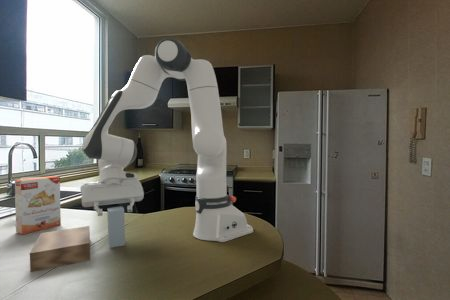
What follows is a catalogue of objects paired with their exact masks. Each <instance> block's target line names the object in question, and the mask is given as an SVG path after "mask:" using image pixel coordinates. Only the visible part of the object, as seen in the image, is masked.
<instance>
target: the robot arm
mask: <svg viewBox="0 0 450 300" xmlns="http://www.w3.org/2000/svg"><path fill="white" fill-rule="evenodd" d="M165 79H167V80H169V81H185V82H186V86H187V95H188V101H189V108H190V109H189V110H190V115H191V117H190V118H191V120H190V121H191V135H192V136H191V137H192V148H193V150H194V151H195V153H196V155H197V163H196V164H197V166H196V174H195V176H196V178H195V179H196V180H195V182H196V195H195V202H194V203H195V204H194V206H195V213H196V215H195V224H194V229H193V232H192V236H193V237H194V238H196V239H198V240H201V241H214V242H220V243H225V242H227V241H231V240H234V239H237V238H239V237H243V236H245V235H249V234H252V233H254V229H253V227H252V225H250V224H248V221H247V217H246V215H245V214H244V213H243V212H242V211H241V210H239V209H238V208H237V207H236V206H234V205H232V203H235V202H236V201H237V198H236V196H233V195H228V194H227V139H226V136H225V134H224V126H223V116H222V115H223V114H222V108H221V101H220V94H219V87H218V81H217V77H216V73H215V69H214V67H213V65H212V63H211V62H210V61H209V60H206V59H202V58H201V59H193V58H192V54H191V53H190V51H189V50H188V49H187V48H186V47H185V45H184V44H183V43H182V42H181V41H180V40H179V39H176V38H173V37H164V38H162V39H160V41H158V43H157V44H156V46H155V48H154V55H151V54H146V55H145V54H144V55H142V56H141V57H140V58H139V59H138V61H137V62H136V64H135V66H134V68H133V71H132V72H131V75H130V77H129V80H128V82H127V84H125V86H124V87H123V88H122V89H119V90H115V91H114V92H113V94H111V96H110V97H109V99H108V101H107V102H106V104H105V105H104V107H103V109H102V110H101V112H100V114H99V116H98V118H97V119H96V121H95V123H94V124H93V126H92V127H91V128H90V130H89V131H88V133H87V134H86V135H85V136H84V139H83V140H82V146H81V149H82V152H83V154H84V155H85V156H87V158H88V159H92V160H94V159H95V160H98V171H99V173H98V178H99V179H98V180H99V181H93V182H85V183H83V184H82V185H81V186H80V193H81V205H82V207H83V208H90V207H93V210H94V211H96V213H97V217H102V216H103V208H100V206H109V205H115V204H116V205H117V204H126V203H129V205H127V207H126V208H127V209H126V210H127V213H131V212H133V206H134V204H135V202H141V201H143V199H144V195H145V192H144V188H143V186H142V183H141V181H140V180H138V174H137V173H133V172H128V171H124V169H125V168H127V167H129V165H131V164H132V163H133V162H135V160H136V158H137V155H138V148H137V146H136V143H135V141H134V140H133V139H129V138H125V137H122V136H118V135H113V134H110V133H108V130H109V128H110V126H111V124H112V123H113V121H114V119H115V118H116V117H117V115H118V114H119V113H121V112H122V111H125V110H141V109H147V108H148V107H151V106H152V105H153V104H154V103H155V101H156V100H157V97H158V94H159V92H160V89H161V87H162V83H163V82H164V81H165Z"/></svg>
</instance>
